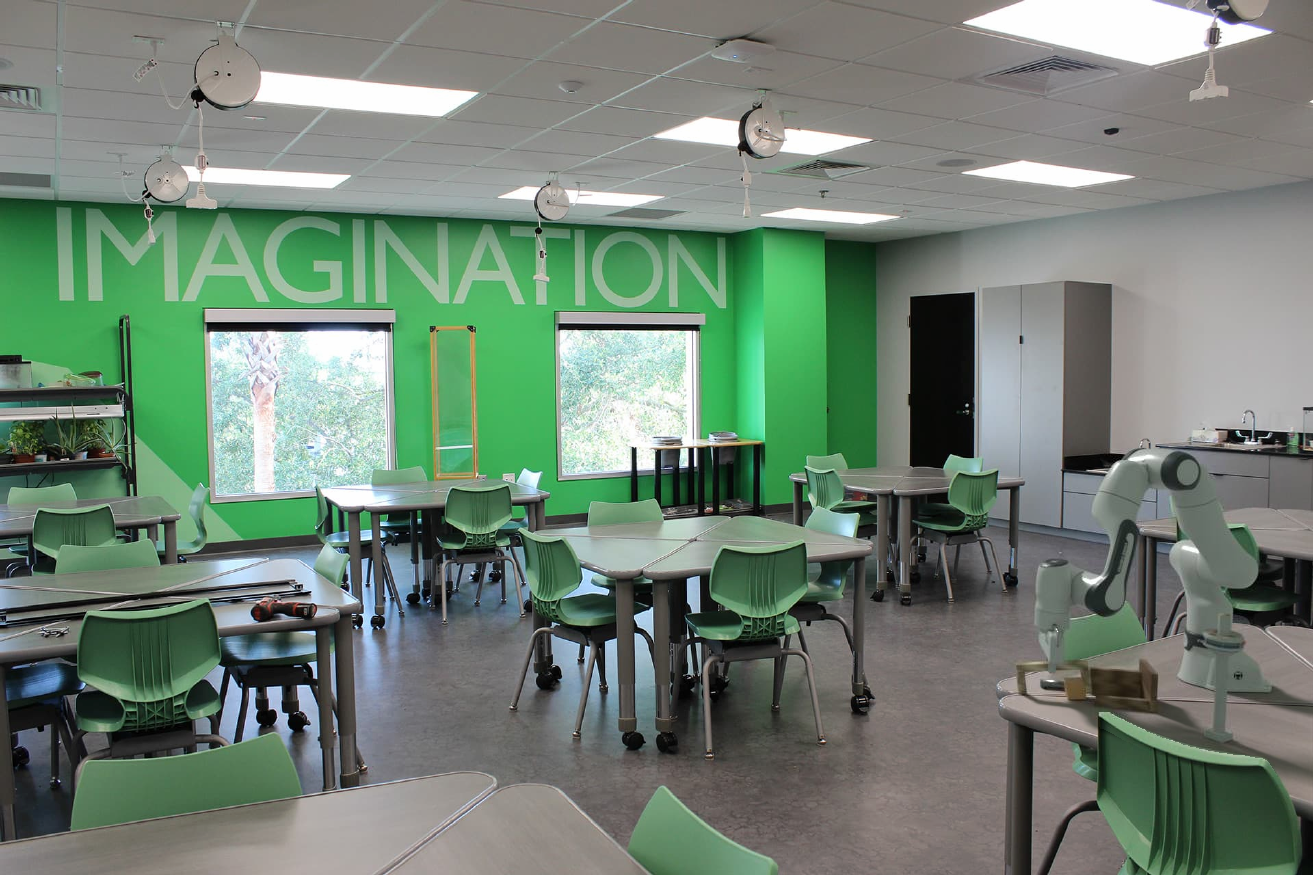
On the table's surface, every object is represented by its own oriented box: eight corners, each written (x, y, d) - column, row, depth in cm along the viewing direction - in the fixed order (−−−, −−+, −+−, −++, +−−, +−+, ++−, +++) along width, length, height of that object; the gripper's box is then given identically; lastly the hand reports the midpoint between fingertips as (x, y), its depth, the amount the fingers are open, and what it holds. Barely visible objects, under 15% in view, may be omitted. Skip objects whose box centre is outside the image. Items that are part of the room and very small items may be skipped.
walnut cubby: (1144, 695, 255) (1145, 658, 254) (1156, 712, 242) (1158, 674, 241) (1087, 690, 258) (1089, 654, 257) (1097, 707, 246) (1098, 669, 245)
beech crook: (1088, 686, 255) (1084, 657, 254) (1092, 693, 249) (1089, 664, 249) (1016, 689, 259) (1013, 660, 259) (1019, 696, 254) (1016, 667, 253)
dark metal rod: (1086, 687, 260) (1087, 680, 259) (1087, 693, 258) (1089, 686, 257) (1039, 683, 263) (1040, 677, 262) (1040, 689, 261) (1041, 683, 260)
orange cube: (1083, 693, 254) (1081, 676, 254) (1086, 698, 250) (1084, 682, 250) (1065, 693, 256) (1063, 677, 255) (1068, 699, 251) (1066, 683, 251)
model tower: (1212, 728, 231) (1217, 608, 229) (1246, 740, 224) (1253, 616, 222) (1190, 735, 227) (1196, 612, 225) (1225, 747, 220) (1231, 620, 218)
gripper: (1071, 631, 242) (1069, 684, 243) (1058, 611, 262) (1057, 660, 263) (1045, 629, 244) (1043, 681, 245) (1034, 609, 263) (1032, 658, 264)
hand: (1050, 670), depth 254 cm, fingers closed on beech crook
